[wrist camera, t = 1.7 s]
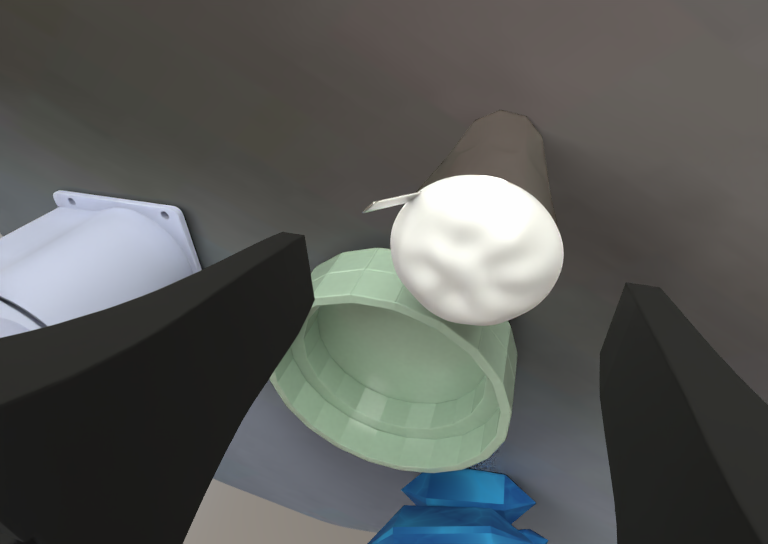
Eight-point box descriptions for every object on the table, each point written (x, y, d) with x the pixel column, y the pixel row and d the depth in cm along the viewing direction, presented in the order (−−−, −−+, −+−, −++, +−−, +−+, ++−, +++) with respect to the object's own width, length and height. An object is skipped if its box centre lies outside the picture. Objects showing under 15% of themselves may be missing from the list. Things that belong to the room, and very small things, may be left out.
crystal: (566, 632, 26) (375, 632, 29) (537, 492, 34) (386, 503, 36) (557, 572, 23) (338, 579, 25) (526, 429, 30) (358, 446, 32)
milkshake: (500, 46, 16) (446, 141, 8) (585, 158, 17) (606, 329, 10) (411, 127, 19) (309, 255, 11) (490, 218, 20) (448, 390, 12)
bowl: (315, 384, 32) (285, 438, 28) (285, 227, 24) (240, 274, 20) (501, 429, 28) (493, 497, 25) (536, 262, 21) (531, 326, 17)
